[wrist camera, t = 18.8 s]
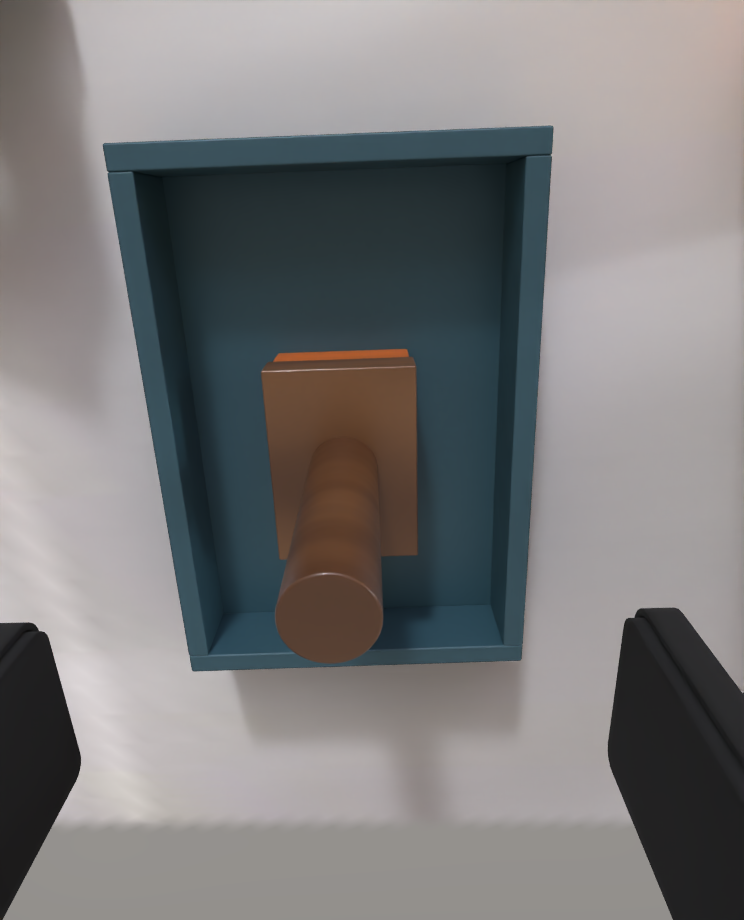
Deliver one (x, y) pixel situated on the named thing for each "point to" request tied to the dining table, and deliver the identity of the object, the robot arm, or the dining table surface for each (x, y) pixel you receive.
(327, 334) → the tray
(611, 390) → the dining table surface
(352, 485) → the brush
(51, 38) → the dining table surface
